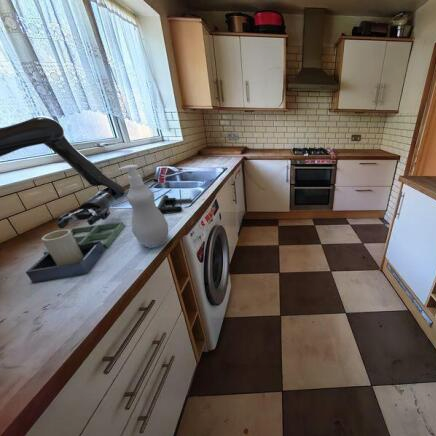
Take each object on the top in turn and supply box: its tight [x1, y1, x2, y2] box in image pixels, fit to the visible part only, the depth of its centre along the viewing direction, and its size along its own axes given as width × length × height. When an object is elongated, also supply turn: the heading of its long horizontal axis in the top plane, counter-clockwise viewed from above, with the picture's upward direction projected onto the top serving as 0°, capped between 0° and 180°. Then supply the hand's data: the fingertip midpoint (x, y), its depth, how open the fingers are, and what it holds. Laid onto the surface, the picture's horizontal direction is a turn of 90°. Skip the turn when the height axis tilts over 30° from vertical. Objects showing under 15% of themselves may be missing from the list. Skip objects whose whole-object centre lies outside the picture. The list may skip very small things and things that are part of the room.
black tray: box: [25, 240, 106, 283], centre depth 74 cm, size 14×14×4 cm
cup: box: [41, 229, 84, 266], centre depth 72 cm, size 7×7×11 cm
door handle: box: [156, 194, 193, 214], centre depth 118 cm, size 3×20×16 cm
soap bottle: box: [118, 164, 169, 249], centre depth 81 cm, size 17×12×29 cm
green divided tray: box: [42, 221, 125, 256], centre depth 88 cm, size 18×18×2 cm
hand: (75, 224), depth 79 cm, fingers open, 8 cm apart
